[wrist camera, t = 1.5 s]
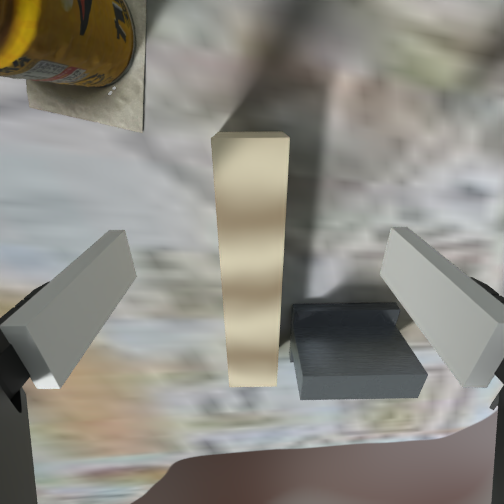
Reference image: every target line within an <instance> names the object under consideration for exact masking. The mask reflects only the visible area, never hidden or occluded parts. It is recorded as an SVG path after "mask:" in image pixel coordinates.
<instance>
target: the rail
mask: <svg viewBox="0 0 504 504" xmlns="http://www.w3.org/2000/svg"><path fill="white" fill-rule="evenodd" d="M400 310H401V309H400V308H399V307H398V305H397V304H396V303H348V304H293V310H292V324H291V338H290V352H289V356H290V362H294V366H295V372H296V378H297V383H298V389H299V395H300V400H326V399H384V398H418V396H419V394H420V392H421V389H422V387H423V385H424V383H425V380H426V378H427V376H428V374H427V372H426V371H425V369H424V368H423V366H422V365H421V363H420V362H419V360H418V359H417V357H416V356H415V354H414V353H413V351H412V350H411V348H410V346H409V345H408V343H407V342H406V340H405V339H404V337H403V336H402V334H401V333H400V331H399V330H398V328H397V327H396V322H397V319H398V316H399V313H400Z"/></svg>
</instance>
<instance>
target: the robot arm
mask: <svg viewBox="0 0 504 504" xmlns="http://www.w3.org/2000/svg"><path fill="white" fill-rule="evenodd" d="M380 276H381V277H382V278H383V280H384V281H385V283H386V284H387V285H388V287H389V288H390V289H391V291H392V292H393V293H394V295H395V296H396V298H397V299H398V300H399V302H400V303H401V304H402V306H403V307H404V308H405V310H406V311H407V312H408V314H409V315H410V317H411V318H412V319H413V321H414V322H415V323H416V325H417V326H418V327H419V329H420V330H421V331H422V333H423V334H424V336H425V337H426V338H427V340H428V341H429V342H430V344H431V345H432V346H433V348H434V349H435V351H436V352H437V353H438V355H439V356H440V357H441V359H442V360H443V361H444V363H445V364H446V365H447V367H448V368H449V370H450V371H451V372H452V374H453V375H454V376H455V378H456V379H457V380H458V382H459V383H460V384H461V386H462V387H463V388H487V387H488V385H489V383H490V382H491V380H492V378H493V377H494V375H496V376H497V377H498V378H499V379H500V381H501V382H502V383H503V384H504V297H502V296H499V294H498V293H497V292H496V291H495V290H493V289H492V288H491V287H489V286H488V285H486V284H484V283H482V282H480V281H478V280H477V279H475V278H473V277H469V276H467V275H466V274H465V273H464V272H463V271H461V270H460V269H459V268H458V267H456V266H455V265H454V264H453V263H451V262H450V261H449V260H448V259H446V258H445V257H444V256H443V255H441V254H440V253H439V252H438V251H436V250H435V249H434V248H433V247H431V246H430V245H429V244H428V243H426V242H425V241H424V240H423V239H421V238H420V237H419V236H418V235H416V234H415V233H414V232H413V231H411V230H410V229H409V228H408V227H391V231H390V235H389V239H388V243H387V247H386V251H385V255H384V259H383V263H382V267H381V271H380ZM136 277H137V275H136V272H135V268H134V264H133V260H132V256H131V252H130V248H129V245H128V241H127V237H126V233H125V230H109V231H108V232H107V233H106V234H104V235H103V236H102V237H101V238H100V239H99V240H98V241H96V242H95V243H94V244H93V245H92V246H91V247H90V248H88V249H87V250H86V251H85V252H84V253H83V254H81V255H80V256H79V257H78V258H77V259H76V260H75V261H73V262H72V263H71V264H70V265H69V266H68V267H67V268H65V269H64V270H63V271H62V272H61V273H60V274H58V275H57V276H56V277H55V278H54V279H53V280H52V281H50V282H47V283H45V284H44V285H42V286H40V287H38V288H36V289H34V290H33V291H32V292H31V293H30V294H29V295H27V296H26V297H25V298H24V300H21V301H20V302H19V303H18V304H17V305H15V308H12V309H11V310H10V311H8V312H7V313H6V314H5V315H4V316H2V317H1V318H0V504H37V495H36V485H35V476H34V466H33V457H32V447H31V438H30V429H29V419H28V410H27V400H26V394H25V392H24V390H23V388H22V386H23V385H24V383H25V382H26V381H27V380H28V379H29V377H30V378H31V379H32V381H33V383H34V384H35V386H36V387H37V389H60V388H61V387H62V385H63V384H64V383H65V381H66V380H67V378H68V377H69V375H70V374H71V372H72V371H73V369H74V368H75V366H76V365H77V363H78V362H79V361H80V359H81V358H82V356H83V355H84V353H85V352H86V350H87V349H88V347H89V346H90V344H91V343H92V341H93V340H94V339H95V337H96V336H97V334H98V333H99V331H100V330H101V328H102V327H103V325H104V324H105V322H106V321H107V320H108V318H109V317H110V315H111V314H112V312H113V311H114V309H115V308H116V306H117V305H118V303H119V302H120V300H121V299H122V298H123V296H124V295H125V293H126V292H127V290H128V289H129V287H130V286H131V284H132V283H133V281H134V280H135V278H136ZM496 406H498V419H497V432H496V433H497V434H496V447H495V460H494V474H493V475H494V476H493V490H492V503H491V504H504V386H503V387H502V389H501V390H500V392H499V393H498V395H497V396H496V398H495V399H494V401H493V402H492V404H491V406H490V408H491V409H493V410H494V409H495V408H496Z"/></svg>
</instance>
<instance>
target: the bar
mask: <svg viewBox="0 0 504 504" xmlns="http://www.w3.org/2000/svg"><path fill="white" fill-rule="evenodd" d="M289 144H290V137H289V136H287V135H286V134H285V133H284V132H282V131H270V132H218V133H217V134H215V135H214V136H213V137H212V138H211V147H212V160H213V173H214V187H215V200H216V213H217V227H218V240H219V254H220V267H221V280H222V294H223V307H224V321H225V334H226V347H227V361H228V374H229V387H277V370H278V351H279V332H280V314H281V295H282V276H283V257H284V238H285V219H286V200H287V182H288V163H289Z"/></svg>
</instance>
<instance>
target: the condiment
mask: <svg viewBox="0 0 504 504" xmlns="http://www.w3.org/2000/svg"><path fill="white" fill-rule="evenodd" d="M145 35H146V0H0V76H3V77H9V78H17V79H26V84H27V94H28V100H29V106H30V108H34V109H38V110H44V111H49V112H53V113H57V114H62V115H66V116H70V117H75V118H80V119H84V120H88V121H93V122H99V123H101V124H105V125H110V126H114V127H119V128H123V129H127V130H131V131H135V132H140V133H142V127H143V124H142V120H143V90H144V86H143V84H144V64H145ZM114 86H115V87H116V89H115V90H112V87H114ZM109 91H112V92H113V93H112V94H111V95H108V93H109Z"/></svg>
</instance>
